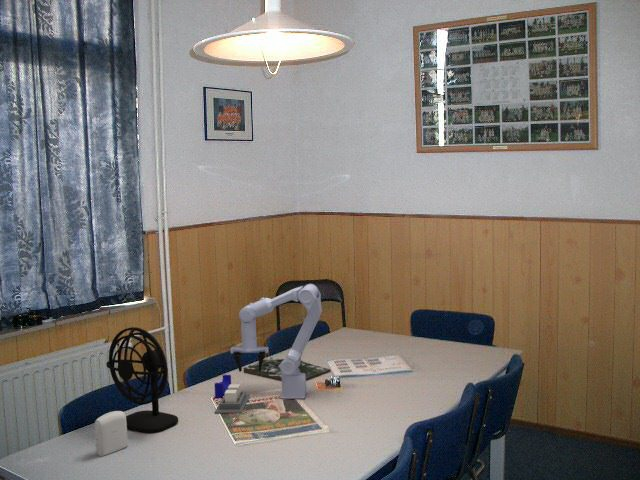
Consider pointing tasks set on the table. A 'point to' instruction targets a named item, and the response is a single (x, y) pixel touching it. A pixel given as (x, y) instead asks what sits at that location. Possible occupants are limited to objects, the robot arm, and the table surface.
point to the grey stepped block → (233, 407)
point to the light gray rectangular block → (231, 396)
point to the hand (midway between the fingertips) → (250, 370)
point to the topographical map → (273, 370)
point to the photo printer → (111, 432)
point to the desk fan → (151, 363)
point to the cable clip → (222, 386)
